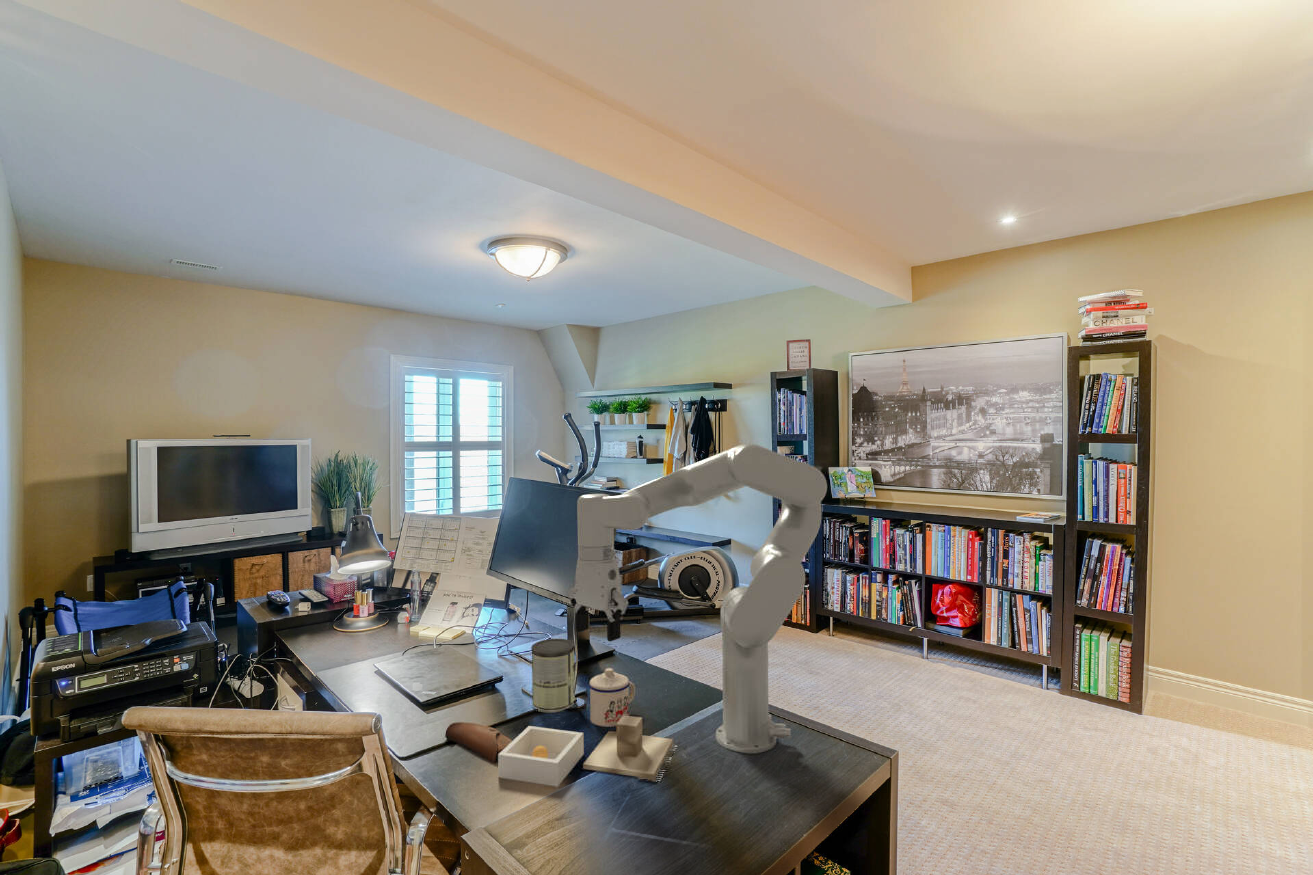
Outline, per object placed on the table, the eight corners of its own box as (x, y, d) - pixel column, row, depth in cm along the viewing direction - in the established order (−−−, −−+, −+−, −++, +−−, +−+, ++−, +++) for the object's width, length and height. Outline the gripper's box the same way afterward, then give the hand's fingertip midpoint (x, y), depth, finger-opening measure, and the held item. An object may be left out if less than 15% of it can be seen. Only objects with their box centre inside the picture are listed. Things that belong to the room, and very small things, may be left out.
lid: (673, 744, 128) (672, 709, 128) (653, 780, 115) (653, 741, 115) (609, 736, 132) (608, 702, 132) (583, 770, 118) (582, 732, 118)
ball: (550, 759, 122) (550, 743, 122) (543, 766, 119) (543, 751, 119) (536, 757, 123) (536, 741, 123) (529, 764, 120) (529, 749, 120)
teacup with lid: (607, 734, 134) (606, 680, 134) (581, 721, 140) (580, 669, 140) (647, 717, 142) (647, 665, 142) (621, 705, 148) (621, 656, 149)
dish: (583, 758, 124) (583, 732, 124) (557, 790, 112) (557, 762, 112) (529, 750, 127) (528, 725, 127) (498, 781, 116) (498, 754, 116)
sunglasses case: (530, 750, 127) (516, 728, 124) (506, 780, 122) (491, 758, 120) (478, 725, 138) (464, 704, 136) (454, 752, 134) (439, 731, 131)
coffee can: (527, 699, 152) (526, 642, 152) (567, 692, 156) (567, 636, 157) (538, 716, 143) (537, 654, 143) (581, 707, 147) (580, 648, 147)
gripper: (638, 554, 128) (640, 638, 127) (582, 546, 139) (584, 623, 139) (611, 560, 122) (613, 648, 122) (555, 551, 134) (557, 631, 134)
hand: (597, 634), depth 131 cm, fingers open, 9 cm apart
